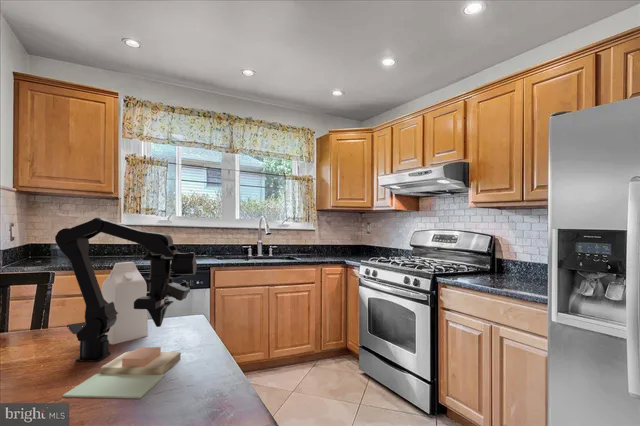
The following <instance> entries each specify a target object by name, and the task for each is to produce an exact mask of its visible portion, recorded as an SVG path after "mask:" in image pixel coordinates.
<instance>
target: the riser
mask: <svg viewBox="0 0 640 426" xmlns="http://www.w3.org/2000/svg"><path fill="white" fill-rule="evenodd" d="M132 352H133V351H132V350H131V351H130V350H129V351H125V352H124V353H121V354H120V355H119V356H117V357H115V358H114V359H113V360H110V361H109V362H107V363H106V364H104V365H102V366H101V367H100V374H135V375H165V373H166V372H168V371H169V370H170V369H171V368H172V367H174V365H176V363H178V362H179V361H180V360H181V351H161V354H160V355H159V356H158V357H156V358H155V359H154V360H152V361H151V362H150V363H148V364H147V365H146V366H144V367H141V366H122V358H124V357H125V356H127V355H128V354H130V353H132Z"/></svg>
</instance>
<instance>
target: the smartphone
mask: <svg viewBox="0 0 640 426" xmlns="http://www.w3.org/2000/svg"><path fill="white" fill-rule="evenodd" d="M82 326H83V327H85V326H86V323H85V321H82V322H75V323H70V324H67V325H66V327H67V328H68V327H69V328H68V329H69V330H70V332H71V333H72V334H73V335H76V334H77V333H78V332H79V331H80V330H81V329H82V328H83V327H82Z"/></svg>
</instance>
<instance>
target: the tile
mask: <svg viewBox="0 0 640 426" xmlns="http://www.w3.org/2000/svg"><path fill="white" fill-rule="evenodd" d="M161 349H162V348H161V346H160V347H158V346H156V347H155V346H152V347H151V346H140V347H138V348H137V349H134V351H133V352H132V353H130V354H128V355H127V356H125V357H124V358H122V366H141V367H144V366H146V365H147V364H148V363H150V362H151V361H152V360H154V359H155V358H156V357H158V356H159V355H160V354H161V352H162V351H161Z"/></svg>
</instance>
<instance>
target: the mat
mask: <svg viewBox="0 0 640 426" xmlns="http://www.w3.org/2000/svg"><path fill="white" fill-rule="evenodd" d="M165 377H166V376H165V374H163V375H135V374H101V373H96V374H94V375H92V376H90V377H89V378H87V379H86V380H84V381H82V382H81V383H80V384H78V385H76V386H75V387H73V388H72V389H70V390H69V391H68V390H67V392H65V393H63V394H62V398H95V399H96V398H97V399H99V398H100V399H101V398H102V399H104V398H106V399H142V398H143V397H144V396H145V395H146V394H147V393H149V392H150V391H151V390H152V389H153V387H155V386H156V385H157V384H158V383H159V382H160V381H162V380H163V379H164V378H165Z"/></svg>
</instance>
